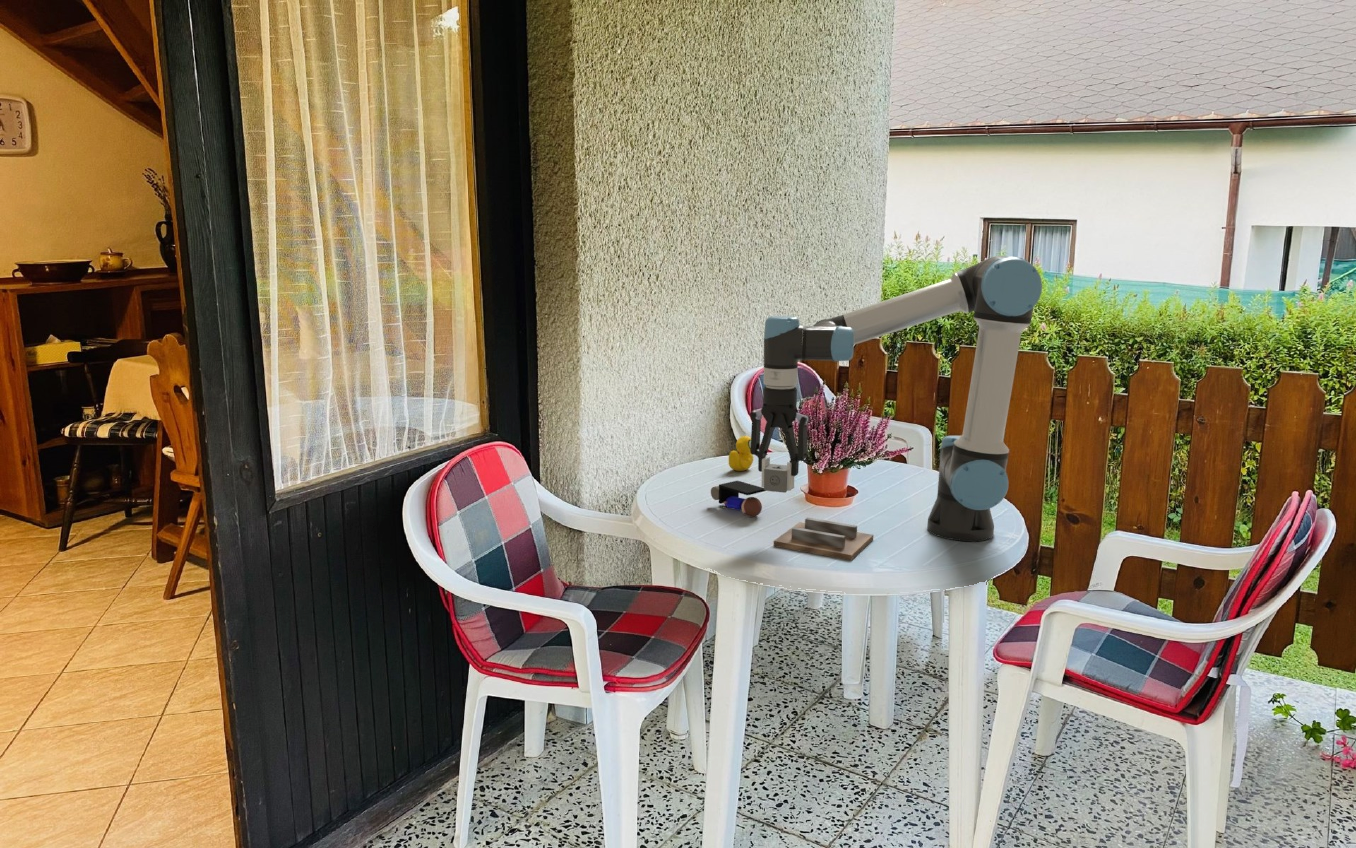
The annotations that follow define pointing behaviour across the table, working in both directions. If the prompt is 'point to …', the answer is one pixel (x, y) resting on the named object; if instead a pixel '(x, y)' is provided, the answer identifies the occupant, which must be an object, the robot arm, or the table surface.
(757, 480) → the table surface
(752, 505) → the figurine character
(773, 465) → the dice cube
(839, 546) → the cradle
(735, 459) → the duckling
